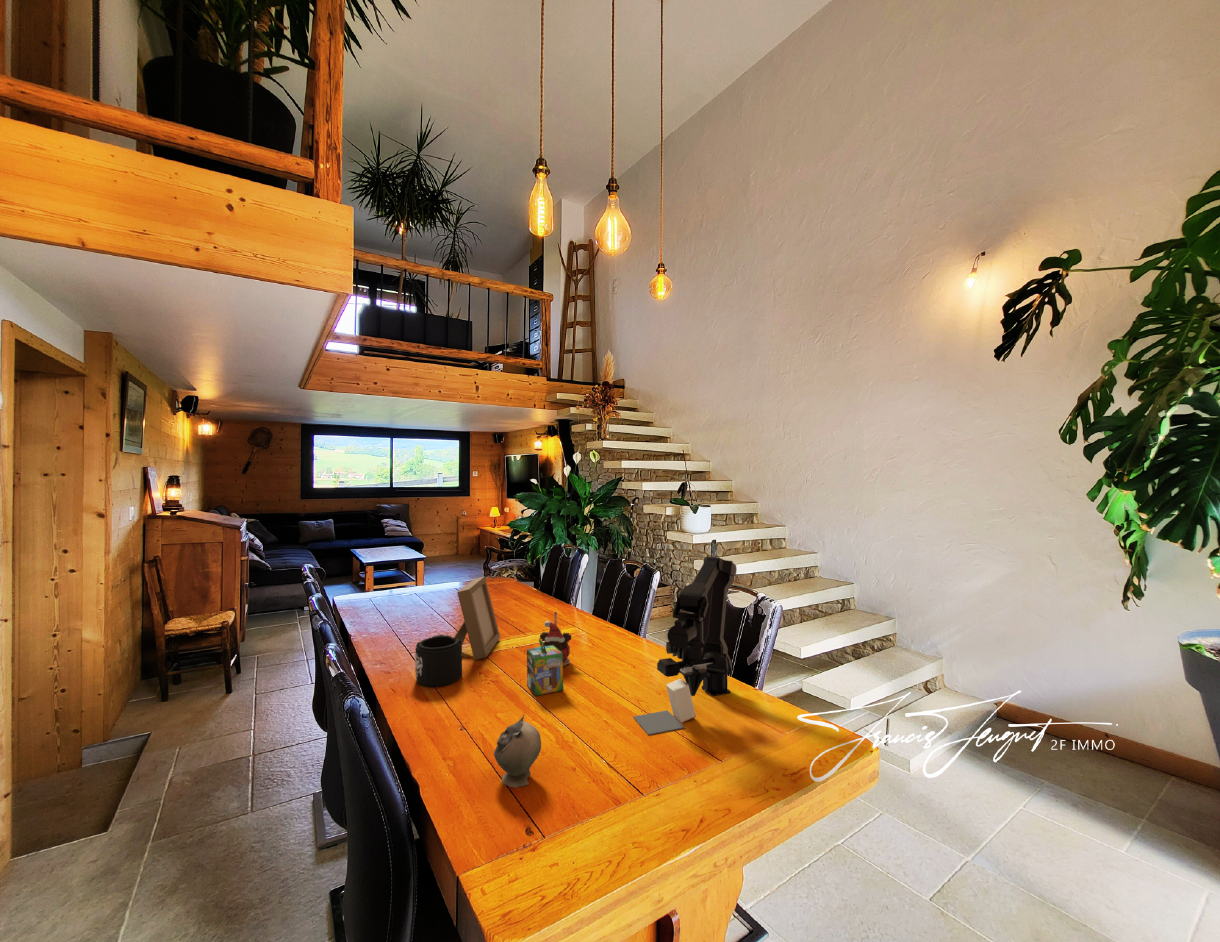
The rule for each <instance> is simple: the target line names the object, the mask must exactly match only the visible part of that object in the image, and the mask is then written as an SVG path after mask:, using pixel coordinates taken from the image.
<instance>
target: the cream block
mask: <svg viewBox="0 0 1220 942" xmlns="http://www.w3.org/2000/svg"><path fill="white" fill-rule="evenodd" d="M665 687H666V691H667V695H668V698H669V703H670V707H671V710H672V715H673V716H674V717H675V718H676V719H677V720H678V721H679V722H680V723H681V724H683V723H685V722H687V721H689V720H691V719H694V718H695V717H697V715H696V710H695V706H694V702H693V698H692V696H691V694H690V689H689V685H688V684H687V683H686V681H685V680H683V679H682V678H678V679H675V680H674V681H671V682H669V683H667V684H666V686H665Z"/></svg>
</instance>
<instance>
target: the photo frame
mask: <svg viewBox="0 0 1220 942" xmlns="http://www.w3.org/2000/svg"><path fill="white" fill-rule="evenodd" d="M456 593H457V597H458V601H459V604H460V609H461V613H462V616H463V619H464V621H463V622H462V624H461V625H460V627H459V629H458V630H457V632H456V633H455V634H454V636H453V638H457V639H459V640H461V641H462V645H463V644H464V641H465V639H466V636H467V635H468V640H469V645H470V648H471V652H472V656H473V660H474V661H476V660H479V659H480V660H481V659H484V658H487V657H488V655H489V654H490V653H491V651H492V650H493V648H494V647H495V645H496V644H497V642H498V641H499V639H500V638H501V635H500V631H499V628H498V627H499V626H498V624H497V619H496V615H495V610H494V608H493V607H494V606H493V604H492V599H491V595H490V592H489V588H488V584H487V579H486V576H481V577H478V578H477V577H476V578H474V579H472V580H471V581H469V582H468V583H467V584H466V585H465V586H463V587H462V588H461V589H459V590H458V591H457V592H456Z"/></svg>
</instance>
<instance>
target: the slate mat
mask: <svg viewBox="0 0 1220 942" xmlns="http://www.w3.org/2000/svg"><path fill="white" fill-rule="evenodd" d="M632 718H633V719H634V721H636V723H637V724H638V725H639V727H640V728H641V729H642V730H643V731H644V732H645V733H646V734H647V736H652V735H657V734H662V733H666V732H667V733H668V732H673V731H678V730H682V729H683V730H684V729H686V727H685V726H684V725H683V723H681V722H680V721H679V720H678V719H676V718H675V717H674V715H673V713H671V712H670V711H669V710H668V709H667V710H662V711H656V712H650V713H645V714H638V715H633V716H632Z"/></svg>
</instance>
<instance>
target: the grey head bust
mask: <svg viewBox="0 0 1220 942" xmlns="http://www.w3.org/2000/svg"><path fill="white" fill-rule="evenodd" d="M524 719H525V714H523V715H522V717H521V718H520V719H519V720H518V721H516V722H515V723H514V724H510V725H509V726H507V727H506V728H505V730H504V731H502V732H501V733H500V735H499V737H498V739H497V741H496V745H497V746H496V747H495V749H494V751H493V757H494V759H495V761H496V763H497V765H498V766H499V767H500V768H501V769H502V770H503V771H504V772H505V774H503V776H502V777H501V782H502V784H504V785H505V786H508V787H509V788H515V789H517V788H524V787H525V786H528V785H529V784H530V783H529V781H528V778H529V777H530V776H531V775H532V774H531V771H530V769H531V768H532V765H533V764H534V763H535V761H536V760H537V759H538V757H539V755H540V753H541V750H542V739H541V735H540V732H539V730H538V729H537V728H536V727H535V726H533V725H532V724H530V723H528V722H526V721H524Z"/></svg>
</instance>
